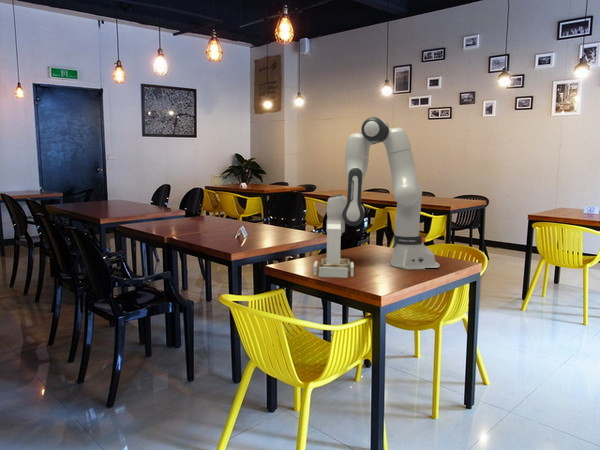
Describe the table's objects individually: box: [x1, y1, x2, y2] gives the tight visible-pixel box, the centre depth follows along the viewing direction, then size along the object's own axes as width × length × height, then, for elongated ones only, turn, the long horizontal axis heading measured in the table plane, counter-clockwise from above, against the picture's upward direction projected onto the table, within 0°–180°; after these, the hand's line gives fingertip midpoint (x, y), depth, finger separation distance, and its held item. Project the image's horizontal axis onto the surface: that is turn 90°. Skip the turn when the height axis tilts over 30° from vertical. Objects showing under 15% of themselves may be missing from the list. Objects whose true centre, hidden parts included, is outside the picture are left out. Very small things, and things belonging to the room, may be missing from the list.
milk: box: [326, 220, 342, 264], centre depth 218 cm, size 6×6×22 cm
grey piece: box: [312, 260, 355, 279], centre depth 211 cm, size 17×12×4 cm
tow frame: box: [320, 252, 351, 273], centre depth 228 cm, size 13×25×4 cm, turn 176°
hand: (335, 256), depth 238 cm, fingers closed
